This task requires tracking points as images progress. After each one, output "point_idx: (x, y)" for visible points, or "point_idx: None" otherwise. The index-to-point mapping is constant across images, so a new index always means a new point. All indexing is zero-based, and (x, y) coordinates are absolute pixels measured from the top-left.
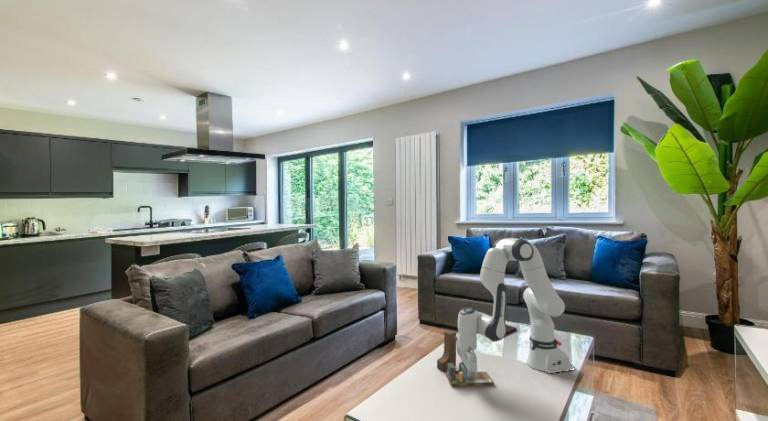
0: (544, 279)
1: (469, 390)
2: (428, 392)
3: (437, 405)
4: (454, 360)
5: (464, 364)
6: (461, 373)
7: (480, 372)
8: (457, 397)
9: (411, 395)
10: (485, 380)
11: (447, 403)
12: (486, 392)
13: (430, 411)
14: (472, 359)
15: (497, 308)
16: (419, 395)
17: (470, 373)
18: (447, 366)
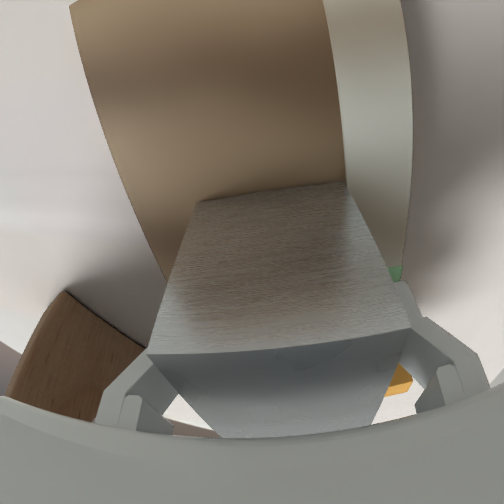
0: None
1: (445, 235)
2: (394, 395)
3: (483, 362)
4: (54, 347)
5: (275, 422)
6: (406, 386)
7: (104, 76)
8: (480, 307)
9: (395, 417)
10: (360, 34)
11: (492, 338)
12: (493, 96)
13: (494, 369)
14: None
15: None
16: (404, 407)
17: (416, 312)
18: (127, 363)
